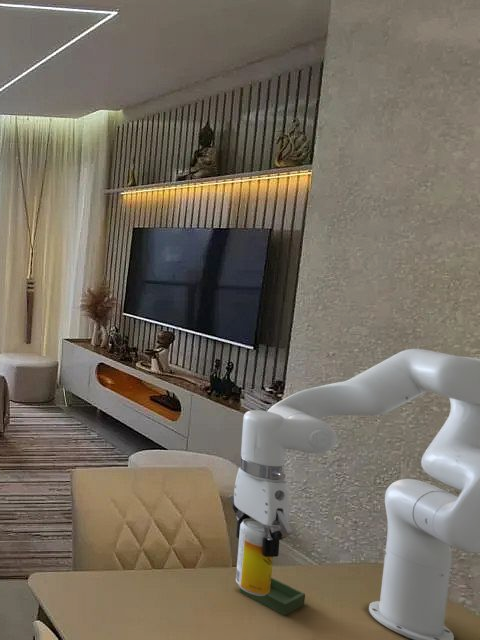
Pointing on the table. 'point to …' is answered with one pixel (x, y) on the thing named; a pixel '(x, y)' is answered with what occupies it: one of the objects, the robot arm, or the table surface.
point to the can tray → (280, 597)
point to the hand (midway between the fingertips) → (256, 546)
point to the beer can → (253, 559)
